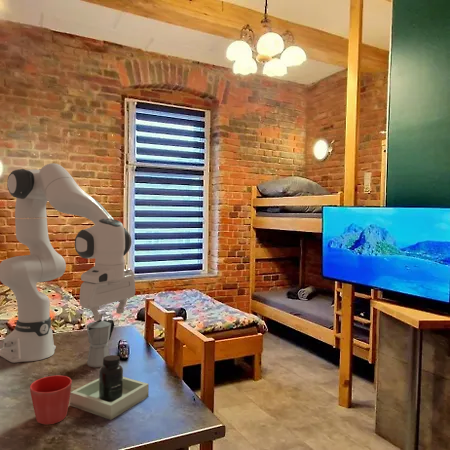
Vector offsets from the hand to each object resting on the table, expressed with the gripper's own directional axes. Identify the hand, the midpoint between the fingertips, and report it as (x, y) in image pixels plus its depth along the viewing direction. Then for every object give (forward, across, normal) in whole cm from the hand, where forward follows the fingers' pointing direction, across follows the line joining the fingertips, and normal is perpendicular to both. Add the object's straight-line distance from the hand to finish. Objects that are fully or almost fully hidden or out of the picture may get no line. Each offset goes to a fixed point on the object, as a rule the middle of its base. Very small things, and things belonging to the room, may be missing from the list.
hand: (109, 316), depth 129 cm
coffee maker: (+25, -17, -20) cm, 37 cm away
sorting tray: (+24, +4, +5) cm, 25 cm away
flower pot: (+24, +19, -2) cm, 31 cm away
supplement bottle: (+23, +3, +5) cm, 24 cm away
